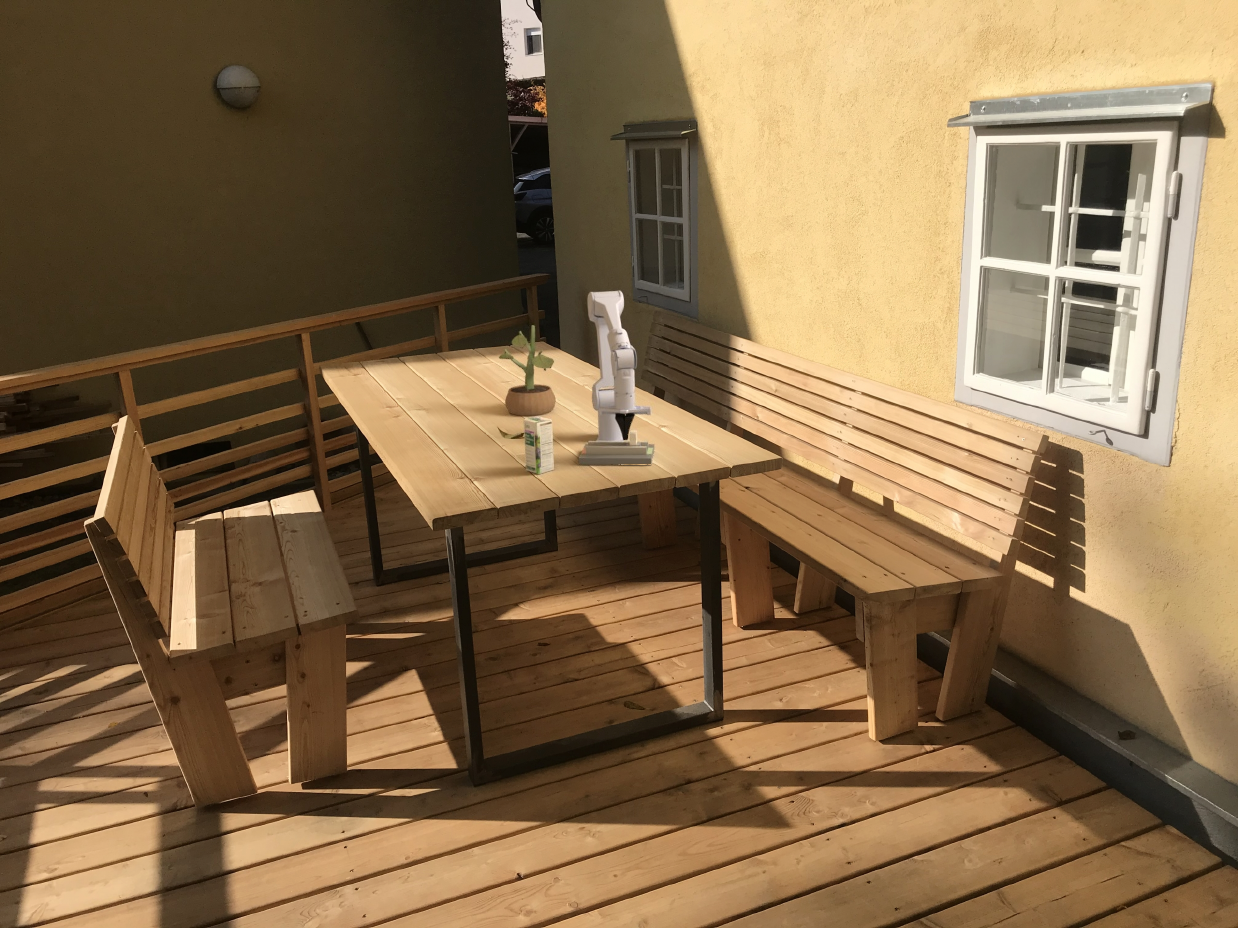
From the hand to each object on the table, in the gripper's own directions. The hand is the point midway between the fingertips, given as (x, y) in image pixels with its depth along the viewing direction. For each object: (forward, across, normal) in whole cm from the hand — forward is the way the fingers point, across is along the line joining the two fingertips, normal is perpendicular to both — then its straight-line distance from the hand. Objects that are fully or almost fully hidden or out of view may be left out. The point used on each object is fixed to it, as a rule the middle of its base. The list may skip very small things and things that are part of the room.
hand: (625, 439), depth 276 cm
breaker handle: (+3, +2, 0) cm, 4 cm away
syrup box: (+6, -22, -12) cm, 26 cm away
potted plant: (+6, -36, +51) cm, 63 cm away
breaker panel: (+5, -2, 0) cm, 6 cm away
